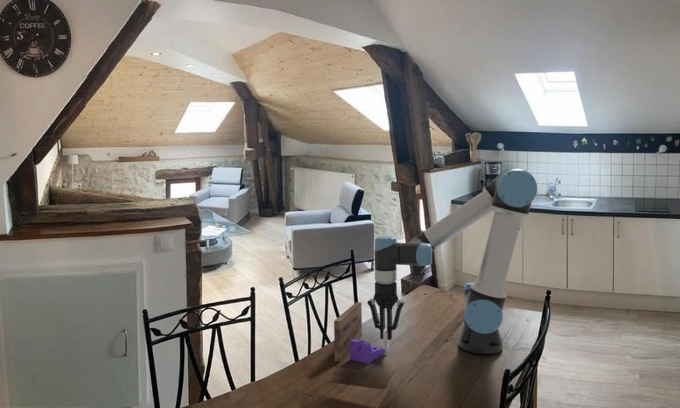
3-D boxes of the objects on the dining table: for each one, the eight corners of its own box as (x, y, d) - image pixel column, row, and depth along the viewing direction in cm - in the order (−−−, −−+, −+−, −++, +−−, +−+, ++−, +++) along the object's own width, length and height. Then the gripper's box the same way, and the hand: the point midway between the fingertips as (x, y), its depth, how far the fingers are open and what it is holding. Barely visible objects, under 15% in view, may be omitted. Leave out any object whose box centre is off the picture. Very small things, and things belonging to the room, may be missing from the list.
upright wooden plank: (362, 339, 188) (361, 302, 187) (340, 362, 166) (340, 321, 165) (356, 338, 189) (356, 302, 188) (334, 361, 166) (334, 320, 165)
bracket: (368, 364, 164) (367, 344, 164) (350, 360, 168) (350, 340, 168) (385, 353, 174) (385, 334, 174) (368, 349, 178) (368, 330, 178)
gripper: (406, 280, 172) (407, 346, 174) (370, 277, 177) (371, 342, 178) (401, 285, 165) (402, 354, 167) (364, 282, 170) (365, 350, 171)
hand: (386, 348), depth 173 cm, fingers closed
